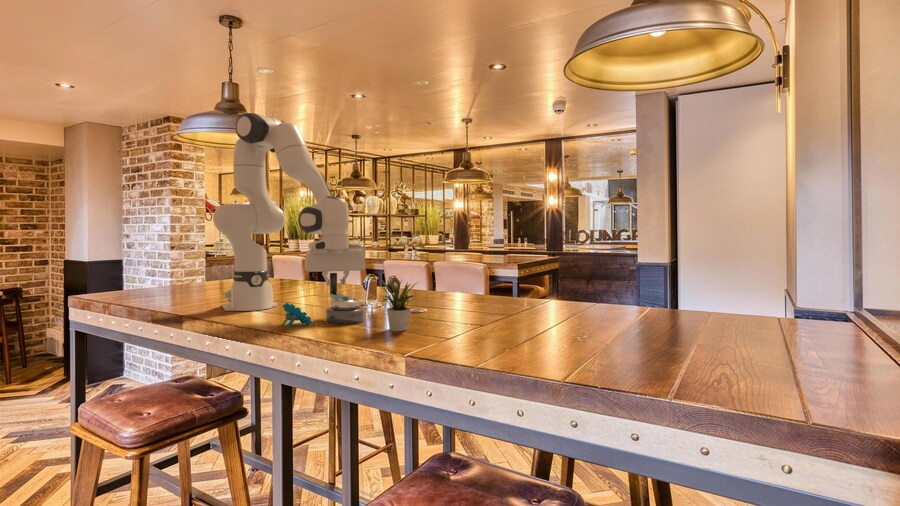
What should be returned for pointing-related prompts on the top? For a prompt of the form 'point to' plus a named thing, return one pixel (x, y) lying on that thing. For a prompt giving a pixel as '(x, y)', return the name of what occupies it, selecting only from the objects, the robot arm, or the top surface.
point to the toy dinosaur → (295, 315)
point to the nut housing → (345, 316)
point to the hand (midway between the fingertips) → (335, 284)
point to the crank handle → (341, 297)
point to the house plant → (398, 307)
